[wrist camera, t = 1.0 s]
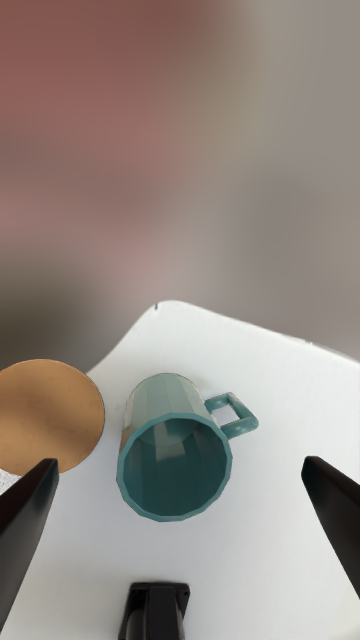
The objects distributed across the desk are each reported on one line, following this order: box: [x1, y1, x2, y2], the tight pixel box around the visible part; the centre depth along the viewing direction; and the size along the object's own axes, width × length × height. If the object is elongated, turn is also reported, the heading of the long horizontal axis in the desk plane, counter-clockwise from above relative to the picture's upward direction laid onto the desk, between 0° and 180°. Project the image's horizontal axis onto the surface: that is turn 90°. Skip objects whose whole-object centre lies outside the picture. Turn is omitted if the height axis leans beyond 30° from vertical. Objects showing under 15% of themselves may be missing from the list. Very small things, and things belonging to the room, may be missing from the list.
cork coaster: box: [0, 359, 105, 476], centre depth 21 cm, size 11×11×1 cm
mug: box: [116, 373, 259, 522], centre depth 19 cm, size 10×8×8 cm
